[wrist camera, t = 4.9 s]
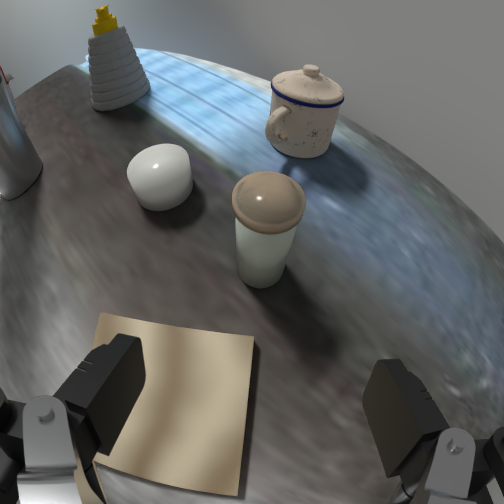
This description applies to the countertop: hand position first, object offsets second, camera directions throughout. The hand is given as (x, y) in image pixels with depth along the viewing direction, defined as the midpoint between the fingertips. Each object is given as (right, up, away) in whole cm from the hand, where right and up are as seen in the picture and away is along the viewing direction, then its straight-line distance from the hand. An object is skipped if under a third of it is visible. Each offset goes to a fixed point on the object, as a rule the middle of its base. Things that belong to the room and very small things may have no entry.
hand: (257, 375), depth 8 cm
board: (-8, -9, +11) cm, 16 cm away
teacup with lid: (+5, +19, +28) cm, 34 cm away
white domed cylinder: (-10, +12, +23) cm, 28 cm away
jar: (+1, +3, +18) cm, 18 cm away
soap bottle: (-26, +35, +35) cm, 56 cm away
